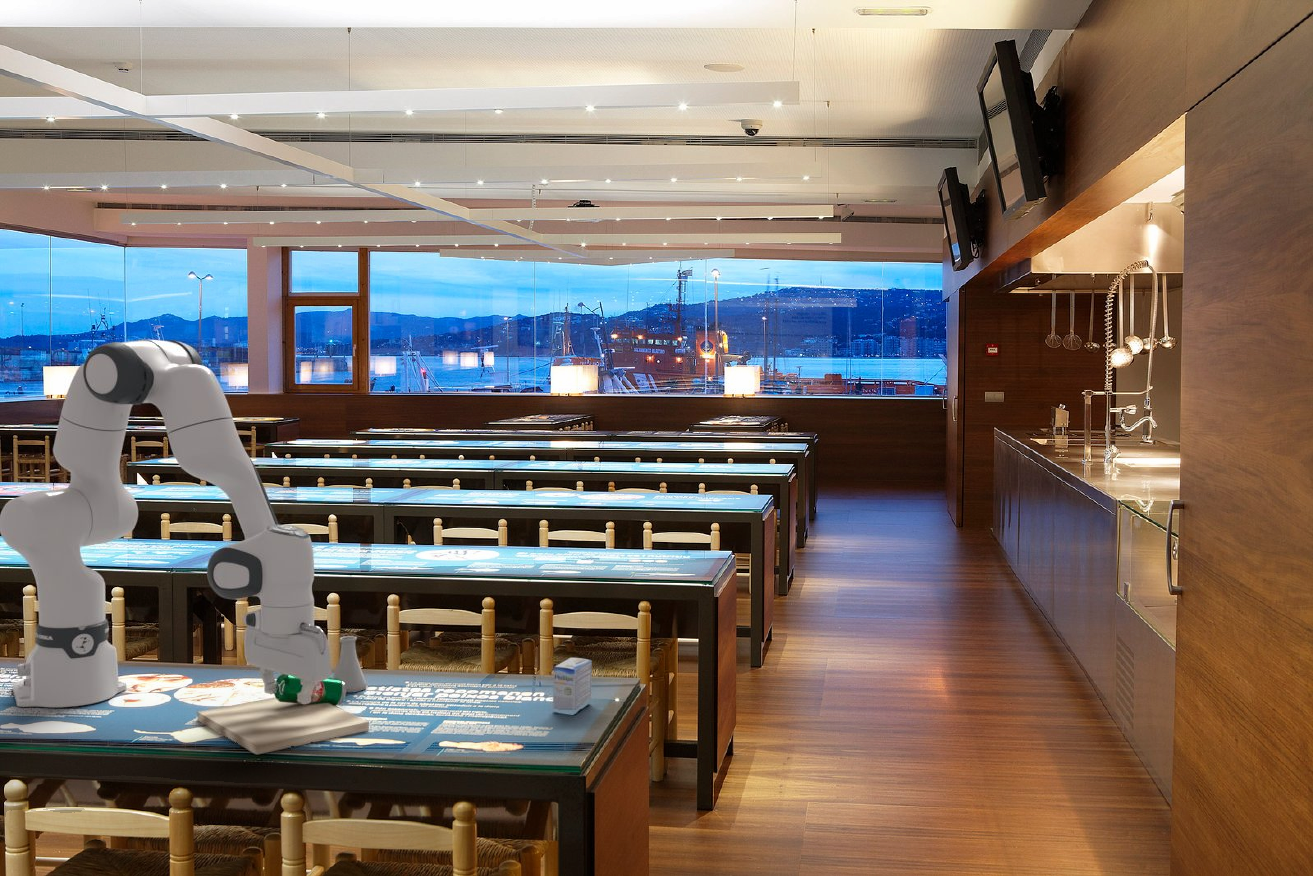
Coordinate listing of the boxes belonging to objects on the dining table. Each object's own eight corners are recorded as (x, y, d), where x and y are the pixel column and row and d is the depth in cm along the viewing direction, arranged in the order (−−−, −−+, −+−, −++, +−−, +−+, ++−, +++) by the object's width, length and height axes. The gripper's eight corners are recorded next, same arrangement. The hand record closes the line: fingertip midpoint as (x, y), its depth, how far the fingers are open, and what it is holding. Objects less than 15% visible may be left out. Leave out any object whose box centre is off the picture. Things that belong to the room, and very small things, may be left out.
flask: (356, 695, 225) (357, 643, 224) (321, 692, 226) (321, 640, 226) (373, 685, 232) (373, 635, 231) (339, 682, 233) (339, 632, 233)
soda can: (288, 674, 208) (349, 680, 216) (276, 671, 212) (336, 677, 220) (282, 703, 207) (344, 709, 215) (270, 699, 211) (331, 704, 219)
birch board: (197, 720, 207) (197, 711, 207) (304, 700, 221) (304, 692, 221) (256, 754, 190) (256, 745, 189) (368, 730, 203) (368, 721, 203)
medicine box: (569, 702, 222) (570, 656, 222) (591, 705, 221) (592, 659, 221) (552, 713, 215) (552, 666, 215) (574, 716, 214) (575, 669, 213)
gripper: (340, 625, 201) (340, 705, 202) (268, 608, 213) (268, 684, 214) (309, 631, 196) (309, 713, 197) (237, 614, 208) (237, 691, 209)
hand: (287, 698), depth 206 cm, fingers open, 8 cm apart
